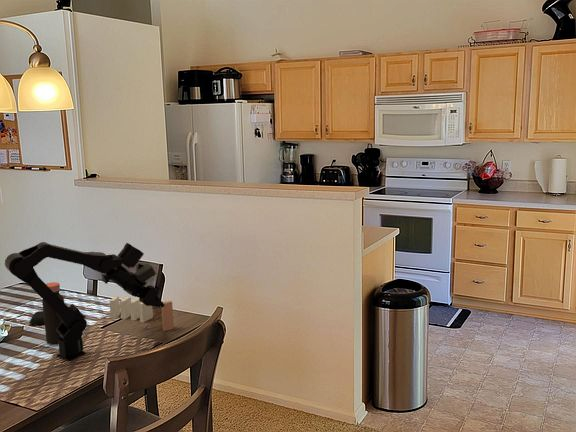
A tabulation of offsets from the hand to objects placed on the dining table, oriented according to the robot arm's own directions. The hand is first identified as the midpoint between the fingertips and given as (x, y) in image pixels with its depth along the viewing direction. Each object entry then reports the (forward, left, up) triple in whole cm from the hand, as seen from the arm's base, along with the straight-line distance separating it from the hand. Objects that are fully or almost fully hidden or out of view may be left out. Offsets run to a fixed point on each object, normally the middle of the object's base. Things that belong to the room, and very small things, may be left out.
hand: (157, 302), depth 196 cm
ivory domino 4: (+6, +12, -11) cm, 17 cm away
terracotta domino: (+3, -1, -11) cm, 11 cm away
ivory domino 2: (+4, +21, -11) cm, 24 cm away
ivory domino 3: (+5, +17, -11) cm, 21 cm away
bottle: (-23, +25, -11) cm, 36 cm away
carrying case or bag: (-12, +43, -11) cm, 46 cm away
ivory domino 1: (+2, +25, -11) cm, 28 cm away
